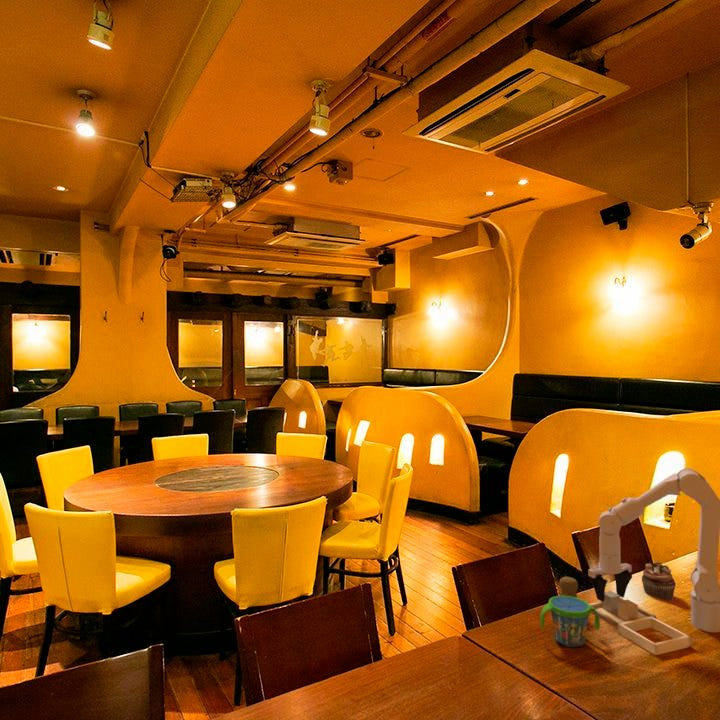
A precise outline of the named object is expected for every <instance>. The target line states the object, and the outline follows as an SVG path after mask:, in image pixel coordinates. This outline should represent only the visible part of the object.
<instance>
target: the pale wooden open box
mask: <svg viewBox="0 0 720 720" xmlns="http://www.w3.org/2000/svg"><path fill="white" fill-rule="evenodd" d="M650 628H652V629H654V630H656V631H658V632H660V633H661V634H663V635H665V636H667V637H668V638H669V639H666V640H662V641H659V642H657V641H656V642H654V641H652V640H650V639H648V638H646V637H645V636H643V635H641V634H640V633H638V632H637V631H641V630H646V629H650ZM617 634H619V635H621V636H622V637H624V638H626V639H627V640H629V641H631V642H632V643H634V644H635V645H637V646H639V647H640V648H642V649H644V650H645V651H647V652H649V653H650V654H652V655H653V656H659V655H663V654H666V653H670V652H675V651H679V650H683V649H686V648H687V649H688V648H690V647H692V646H691V645H692V642H691V636H690V635H688V634H686V633H684V632H682V631H680V630H679V629H676V628H674V627H672V626H671V625H670V624H667V623H665V622H664V621H661V620H659V619H657V618H656V619H655V618H654V617H652V616H651V617H646V618H642V619H637V620H632V621H628V622H623V623H618V628H617ZM670 638H671V639H670Z"/></svg>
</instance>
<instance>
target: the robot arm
mask: <svg viewBox="0 0 720 720" xmlns="http://www.w3.org/2000/svg"><path fill="white" fill-rule="evenodd" d="M681 492H682V493H683V494H684V495H685V496H687V497H689V498H692V499H693V500H694V501H695V502H696V503H697V504H699V506H700V515H699V517H700V518H699V528H698V530H699V531H698V543H697V555H696V556H697V557H696V561H695V566H694V569H693V570H692V571H691V574H690V581H691V583H692V585H693V589H692V590H691V591H690V613H691V615H690V618H691V625H692V626H693V627H694V628H695V629H698V630H700V631H703V632H707V633H720V583H719V570H718V569H719V568H718V561H719V559H718V558H719V548H720V547H719V545H720V498H719V497H718V495H717V493H716V492H715V491H714V489H713V488H712V486H711V485H710V483H709V482H708V481H707V479H706V478H705V477H704V476H703V475H702V474H700V473H699V471H697V470H695V469H693V468H682V469H681V470H679V471H678V472H677V473H673V474H671V475H669V476H667V477H666V478H664V479H663V480H661V481H659V482H658V483H657V484H656V485H654V486H653V487H651V488H649V490H647V491H645V492H644V493H643V494H641V495H639V496H638V497H627V498H626V497H623V498H622V499H621V502H620V503H618V504H617V505H615V506H613V507H609V508H608V510H605V511H603V512H602V513H600V516H599V518H598V527H599V537H598V539H599V541H598V543H599V546H598V547H599V551H598V552H599V562H598V563H597V565H596V566H594V567H592V568H589V569H587V570H588V571H587V573H588V574H587V576H588V579H589V580H590V582H591V584H592V586H593V589H594V591H595V596H596V599H597V600H598V601H599V602H602V601H604V596H605V592H606V586H607V583H608V580H607V579H605V578H604V577H603V576H607V575H614V579H615V580H614V581H615V589H616V590H615V591H616V592H615V593H616V594H618V595H620V598H622V599H624V598H625V595H626V591H627V588H628V585H629V584H630V581H631V580H632V579H633V574H632V573H631V572H632V564H629V563H627V562H626V563H625V562H624V563H621V560H622V559H621V537H620V531H621V527H624V526H626V525H628V524H630V523H632V522H633V521H635V520H636V519H638V518H640V517H641V516H643V515H644V512H645V509H646V508H647V507H649V506H651V505H652V504H654V503H656V502H659V500H661V499H663V498H665V497H667V496H669V495H671V496H681V495H682V494H681Z"/></svg>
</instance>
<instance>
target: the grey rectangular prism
mask: <svg viewBox="0 0 720 720" xmlns="http://www.w3.org/2000/svg"><path fill="white" fill-rule="evenodd" d="M620 598H621V597H620V595H618V594H617V592H614V591H612V590H609V591H605V596H604V601H601V602H602V608H603V609H605V610H607V611H609V612H610V613H612V612H617V611H618V601H620Z"/></svg>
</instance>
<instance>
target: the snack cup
mask: <svg viewBox="0 0 720 720" xmlns="http://www.w3.org/2000/svg"><path fill="white" fill-rule="evenodd" d="M589 604H590V603H588V602H587V601H586V600H584V599H581V598H578V597H577V598H576V597H571V596H561V595H556V596H552V597H550V598H549V600H548V603H546V604H545V605H544V606H543V607H542V608H541V611H540V613H539V614H540V615H539V624H540V626H541V629H542V630H543V631H545V630H546V629H545V614H546V613H547V612H548V611H550V613H551V622H552V627H553V634H554V639H555V641H556V642H558V643H559V644H561V645H563V646H565V647H570V648H577V647H583V645H584V644H585V642H586V637H587V636H586V635H587V632H588V631H587V630H588V624H589V621H588V620H589V617H590V614H591V612H590V611H591V610H593V611H594V612H595V614H594V616H595V617H594V623H593V626H594V629H596V630H599V629H600V626H601V622H600V617H599V615H598V613H597V611H596V610H595V609H594V608H593V607H592V606H591V605H589Z"/></svg>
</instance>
